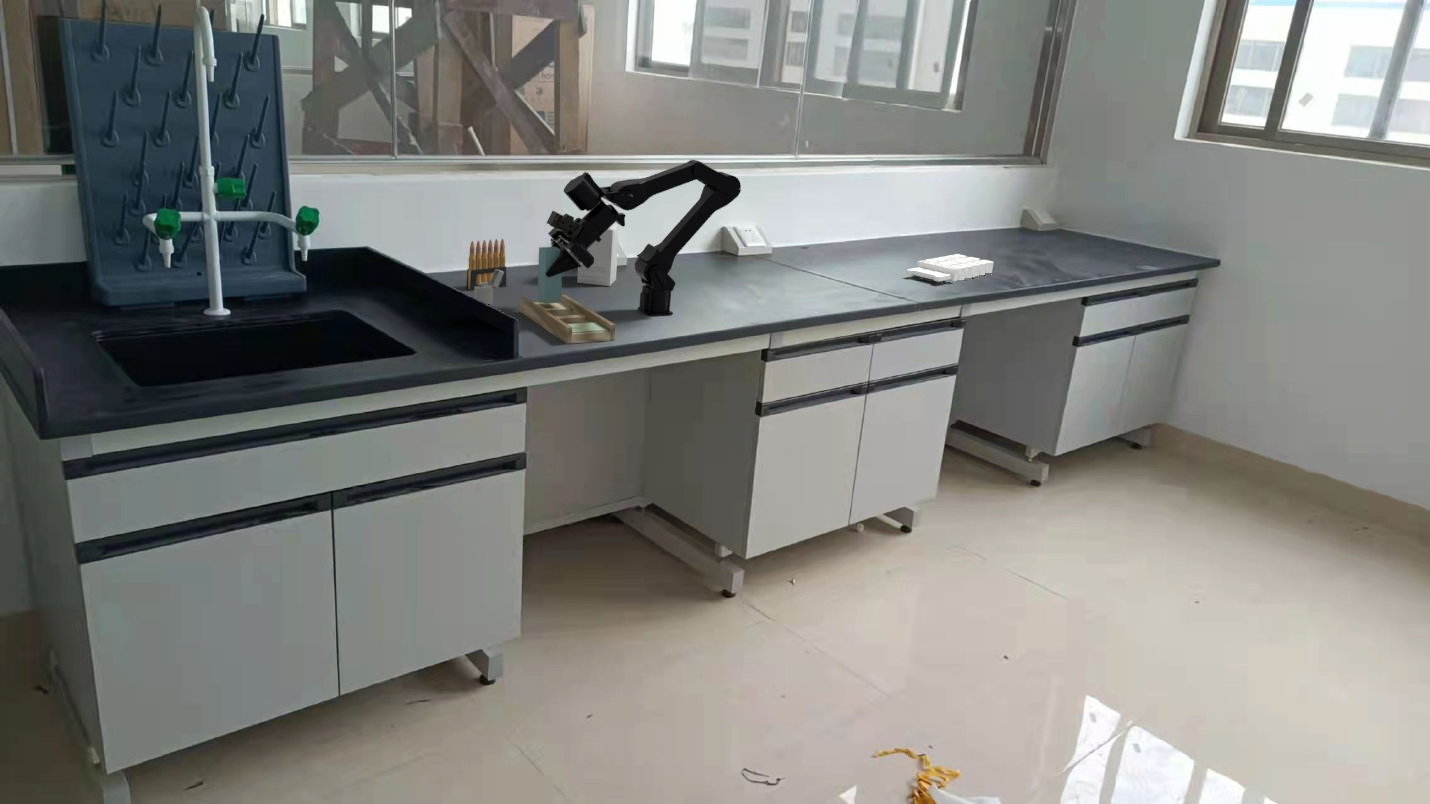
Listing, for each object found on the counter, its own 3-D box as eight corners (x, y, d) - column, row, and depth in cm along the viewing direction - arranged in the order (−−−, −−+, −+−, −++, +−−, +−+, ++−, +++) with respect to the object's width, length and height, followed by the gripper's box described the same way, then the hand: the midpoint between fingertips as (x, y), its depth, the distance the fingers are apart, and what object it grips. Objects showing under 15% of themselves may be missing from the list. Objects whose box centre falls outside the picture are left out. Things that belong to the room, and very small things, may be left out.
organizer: (993, 261, 325) (942, 272, 299) (991, 276, 327) (939, 287, 301) (957, 254, 333) (904, 263, 307) (955, 268, 334) (902, 278, 309)
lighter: (478, 306, 229) (478, 272, 226) (473, 304, 230) (474, 270, 228) (503, 303, 234) (504, 269, 232) (499, 301, 235) (499, 268, 233)
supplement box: (616, 279, 268) (620, 224, 264) (610, 286, 260) (613, 229, 255) (583, 275, 269) (586, 220, 264) (576, 282, 261) (578, 225, 256)
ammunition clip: (470, 291, 242) (471, 242, 238) (466, 289, 243) (466, 240, 239) (506, 286, 250) (507, 238, 246) (502, 284, 251) (503, 237, 247)
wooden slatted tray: (564, 309, 234) (564, 294, 233) (614, 340, 214) (615, 324, 213) (519, 311, 228) (520, 296, 227) (567, 343, 208) (567, 327, 207)
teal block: (553, 298, 230) (555, 246, 226) (560, 302, 227) (562, 250, 223) (537, 299, 228) (539, 247, 224) (544, 303, 225) (546, 250, 221)
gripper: (558, 192, 229) (509, 239, 228) (582, 206, 214) (530, 257, 213) (589, 227, 235) (542, 273, 234) (615, 243, 219) (564, 293, 218)
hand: (544, 273), depth 225 cm, fingers closed on teal block, 4 cm apart
